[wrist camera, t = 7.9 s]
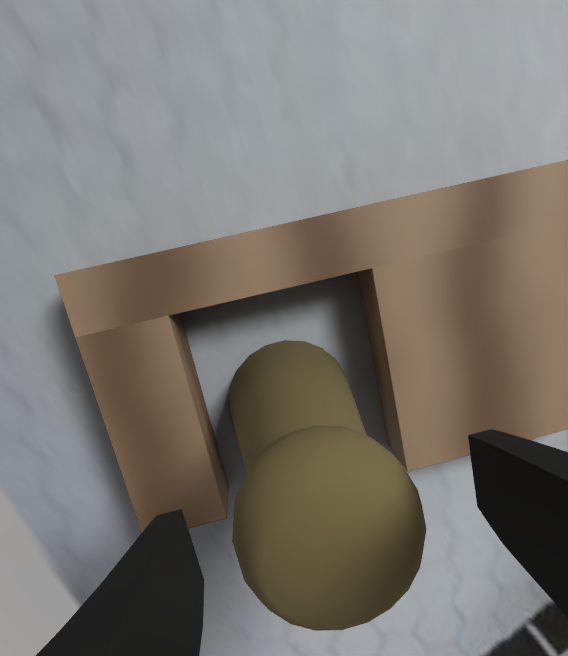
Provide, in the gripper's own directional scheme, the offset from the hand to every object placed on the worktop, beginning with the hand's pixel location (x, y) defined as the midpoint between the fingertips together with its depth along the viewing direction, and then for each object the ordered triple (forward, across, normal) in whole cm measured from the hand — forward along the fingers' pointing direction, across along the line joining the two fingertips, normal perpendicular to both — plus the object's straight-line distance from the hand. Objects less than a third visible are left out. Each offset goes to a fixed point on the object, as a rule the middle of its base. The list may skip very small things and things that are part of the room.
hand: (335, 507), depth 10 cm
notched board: (+10, -3, -1) cm, 11 cm away
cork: (+11, 0, +1) cm, 11 cm away
